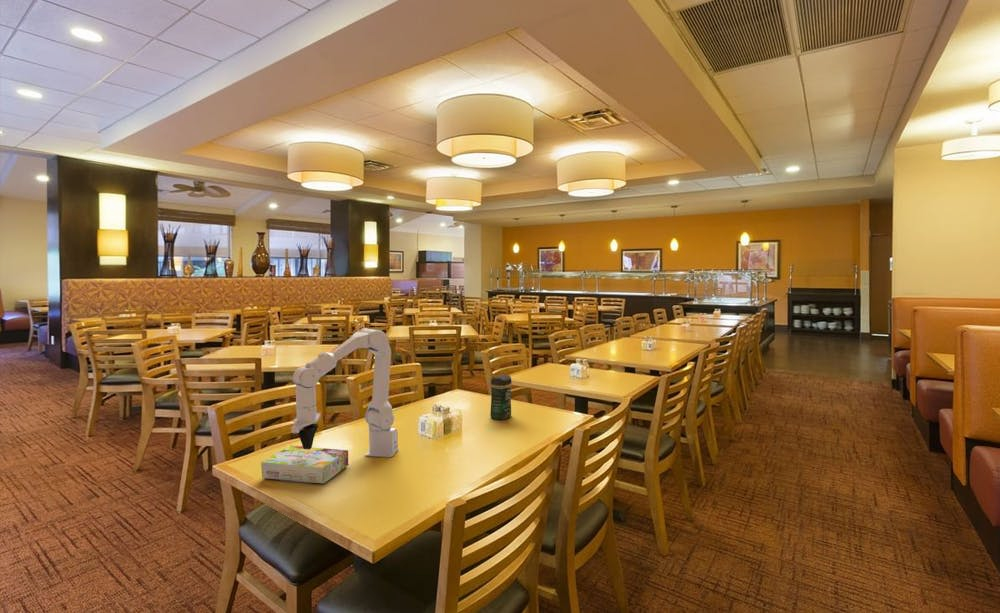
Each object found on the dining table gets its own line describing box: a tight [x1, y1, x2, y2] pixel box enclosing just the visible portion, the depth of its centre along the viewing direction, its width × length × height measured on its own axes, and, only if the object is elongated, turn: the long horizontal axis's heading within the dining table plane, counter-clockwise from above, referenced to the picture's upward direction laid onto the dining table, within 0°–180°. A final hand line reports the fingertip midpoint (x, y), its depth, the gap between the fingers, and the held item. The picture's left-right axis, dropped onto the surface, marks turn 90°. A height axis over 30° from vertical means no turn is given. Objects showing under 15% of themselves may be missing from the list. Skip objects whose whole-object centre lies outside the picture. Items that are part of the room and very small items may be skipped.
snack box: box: [260, 445, 349, 484], centre depth 153 cm, size 21×6×15 cm
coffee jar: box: [489, 374, 513, 420], centre depth 213 cm, size 10×8×19 cm
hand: (307, 448), depth 152 cm, fingers closed
